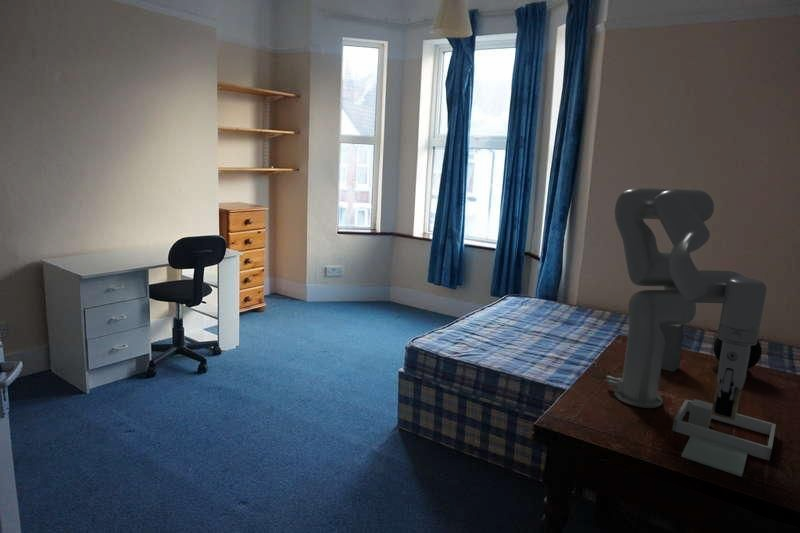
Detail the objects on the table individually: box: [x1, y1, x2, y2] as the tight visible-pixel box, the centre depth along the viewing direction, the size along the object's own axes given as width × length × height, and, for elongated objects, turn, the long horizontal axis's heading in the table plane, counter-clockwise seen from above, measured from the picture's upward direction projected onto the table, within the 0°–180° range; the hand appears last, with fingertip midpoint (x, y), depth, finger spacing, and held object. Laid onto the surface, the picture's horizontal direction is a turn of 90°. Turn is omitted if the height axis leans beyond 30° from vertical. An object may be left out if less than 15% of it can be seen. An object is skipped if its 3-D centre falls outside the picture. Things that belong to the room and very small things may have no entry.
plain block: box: [687, 398, 713, 429], centre depth 141 cm, size 4×4×6 cm
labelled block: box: [712, 383, 742, 420], centre depth 124 cm, size 4×4×6 cm
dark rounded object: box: [712, 336, 762, 382], centre depth 176 cm, size 13×13×15 cm
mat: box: [680, 435, 749, 477], centre depth 127 cm, size 12×12×1 cm
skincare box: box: [660, 324, 685, 373], centre depth 179 cm, size 8×7×16 cm
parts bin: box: [671, 398, 777, 462], centre depth 138 cm, size 21×16×3 cm
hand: (724, 409), depth 124 cm, fingers closed on labelled block, 4 cm apart
